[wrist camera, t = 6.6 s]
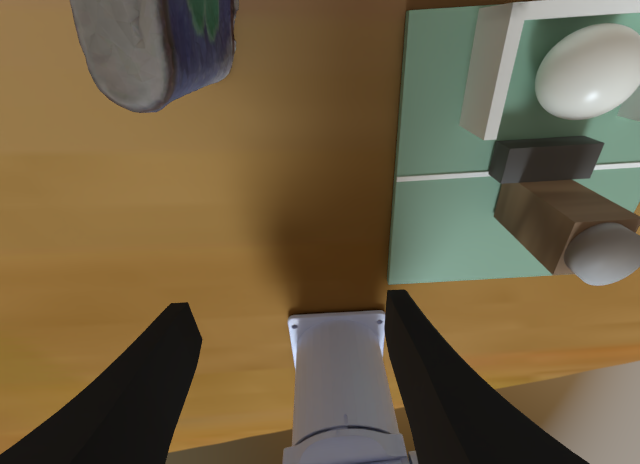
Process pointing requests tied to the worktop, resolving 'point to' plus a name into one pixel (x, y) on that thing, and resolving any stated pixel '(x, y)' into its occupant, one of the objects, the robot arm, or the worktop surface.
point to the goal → (500, 52)
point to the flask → (155, 47)
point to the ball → (589, 72)
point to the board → (482, 150)
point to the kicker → (563, 209)
